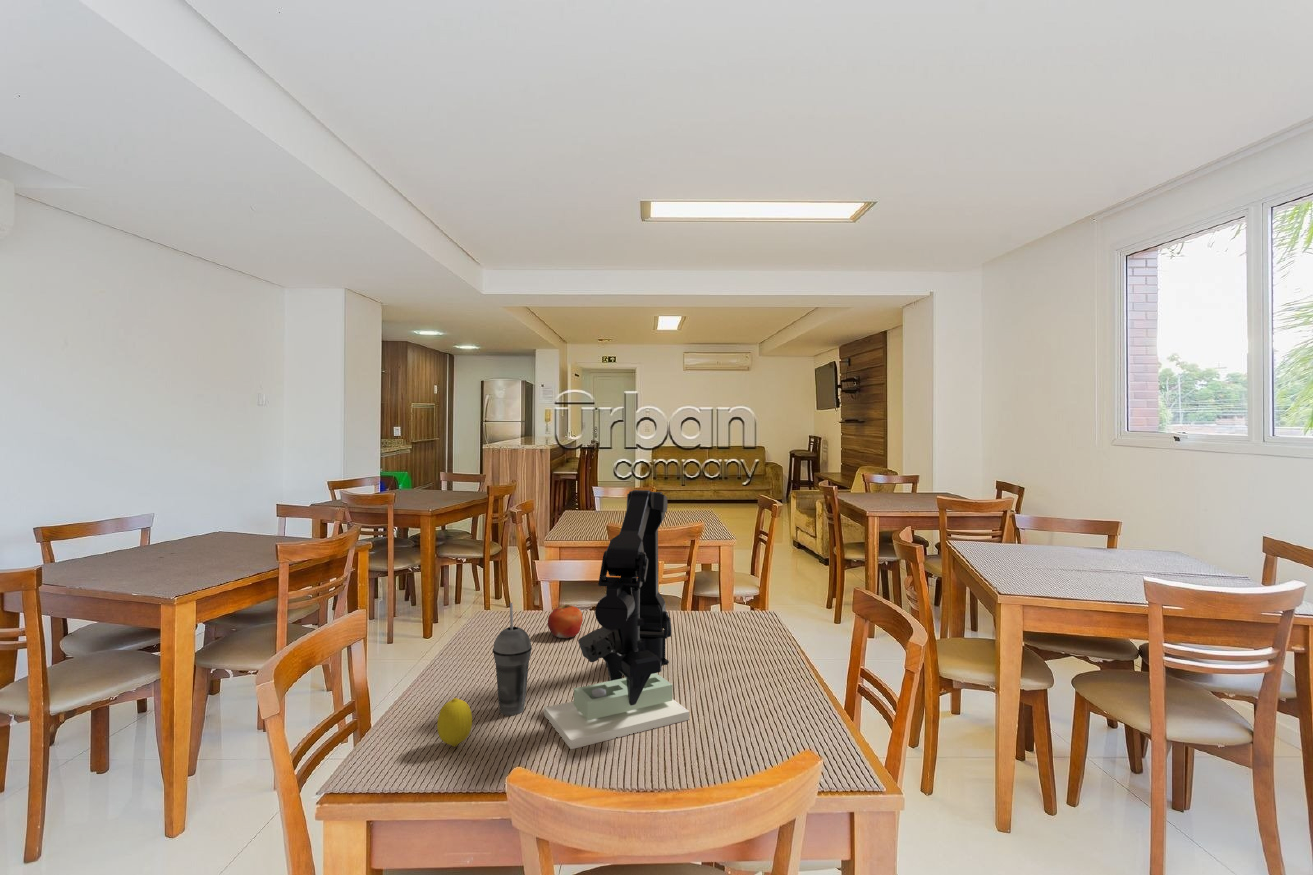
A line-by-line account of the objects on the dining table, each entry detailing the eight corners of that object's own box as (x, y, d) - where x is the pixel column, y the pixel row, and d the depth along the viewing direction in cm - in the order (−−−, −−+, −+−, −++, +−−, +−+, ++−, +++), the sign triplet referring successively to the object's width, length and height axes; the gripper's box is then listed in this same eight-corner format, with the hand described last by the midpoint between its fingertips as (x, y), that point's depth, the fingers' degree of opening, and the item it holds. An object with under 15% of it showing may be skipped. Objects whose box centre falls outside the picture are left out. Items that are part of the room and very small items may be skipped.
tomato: (580, 641, 153) (580, 610, 153) (544, 641, 153) (544, 610, 153) (585, 630, 162) (585, 600, 162) (551, 630, 162) (551, 600, 162)
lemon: (442, 738, 103) (442, 691, 103) (475, 737, 103) (475, 691, 103) (432, 755, 97) (433, 706, 97) (467, 754, 98) (468, 705, 98)
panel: (654, 687, 119) (654, 671, 119) (672, 700, 113) (672, 684, 113) (573, 704, 111) (573, 688, 111) (587, 720, 105) (588, 703, 105)
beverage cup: (496, 722, 109) (497, 611, 109) (488, 706, 115) (489, 601, 115) (536, 714, 112) (537, 606, 112) (525, 699, 119) (526, 597, 119)
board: (653, 691, 123) (653, 664, 123) (689, 719, 110) (689, 689, 110) (544, 715, 112) (544, 685, 112) (570, 749, 99) (571, 716, 99)
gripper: (565, 606, 116) (565, 687, 116) (604, 633, 100) (604, 728, 100) (618, 599, 122) (617, 676, 121) (663, 624, 105) (662, 713, 105)
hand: (623, 697), depth 112 cm, fingers closed on panel, 7 cm apart
